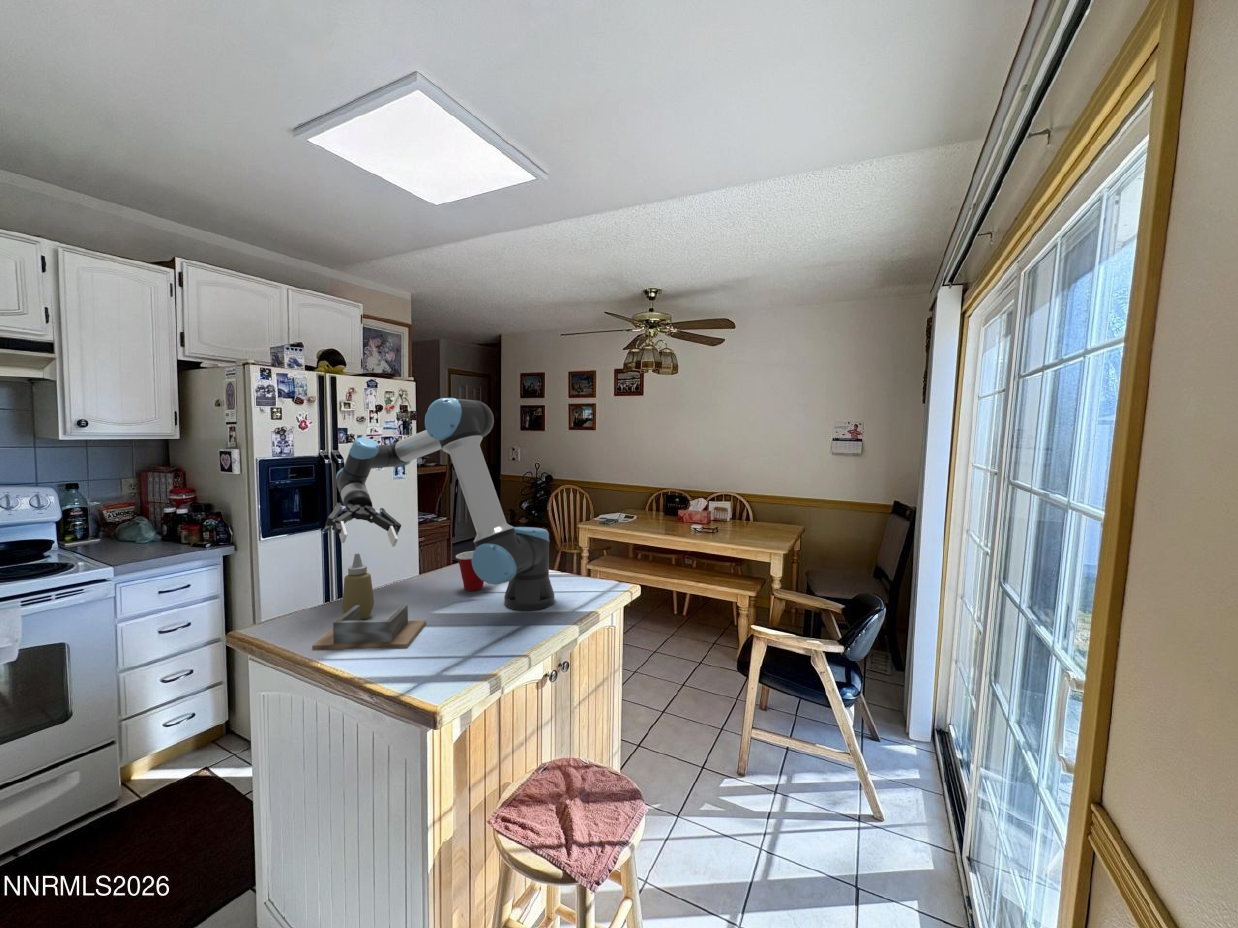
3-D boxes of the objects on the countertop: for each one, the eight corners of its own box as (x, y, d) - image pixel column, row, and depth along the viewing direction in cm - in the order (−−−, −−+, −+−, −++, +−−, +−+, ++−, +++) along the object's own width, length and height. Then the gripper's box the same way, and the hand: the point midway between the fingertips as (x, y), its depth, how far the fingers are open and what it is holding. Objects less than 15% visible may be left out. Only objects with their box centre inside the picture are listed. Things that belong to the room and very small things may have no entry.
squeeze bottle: (361, 624, 137) (359, 558, 136) (335, 621, 139) (333, 556, 137) (381, 613, 145) (379, 551, 144) (356, 611, 147) (354, 549, 145)
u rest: (426, 624, 138) (425, 602, 137) (407, 647, 123) (406, 623, 122) (341, 625, 136) (341, 603, 136) (312, 649, 121) (311, 624, 121)
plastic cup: (464, 582, 175) (464, 548, 174) (494, 584, 173) (494, 549, 172) (449, 592, 164) (449, 556, 163) (481, 594, 162) (481, 557, 162)
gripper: (393, 515, 166) (409, 554, 152) (307, 505, 149) (316, 548, 135) (401, 495, 165) (419, 533, 150) (315, 483, 148) (325, 525, 133)
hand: (370, 540), depth 142 cm, fingers open, 13 cm apart
